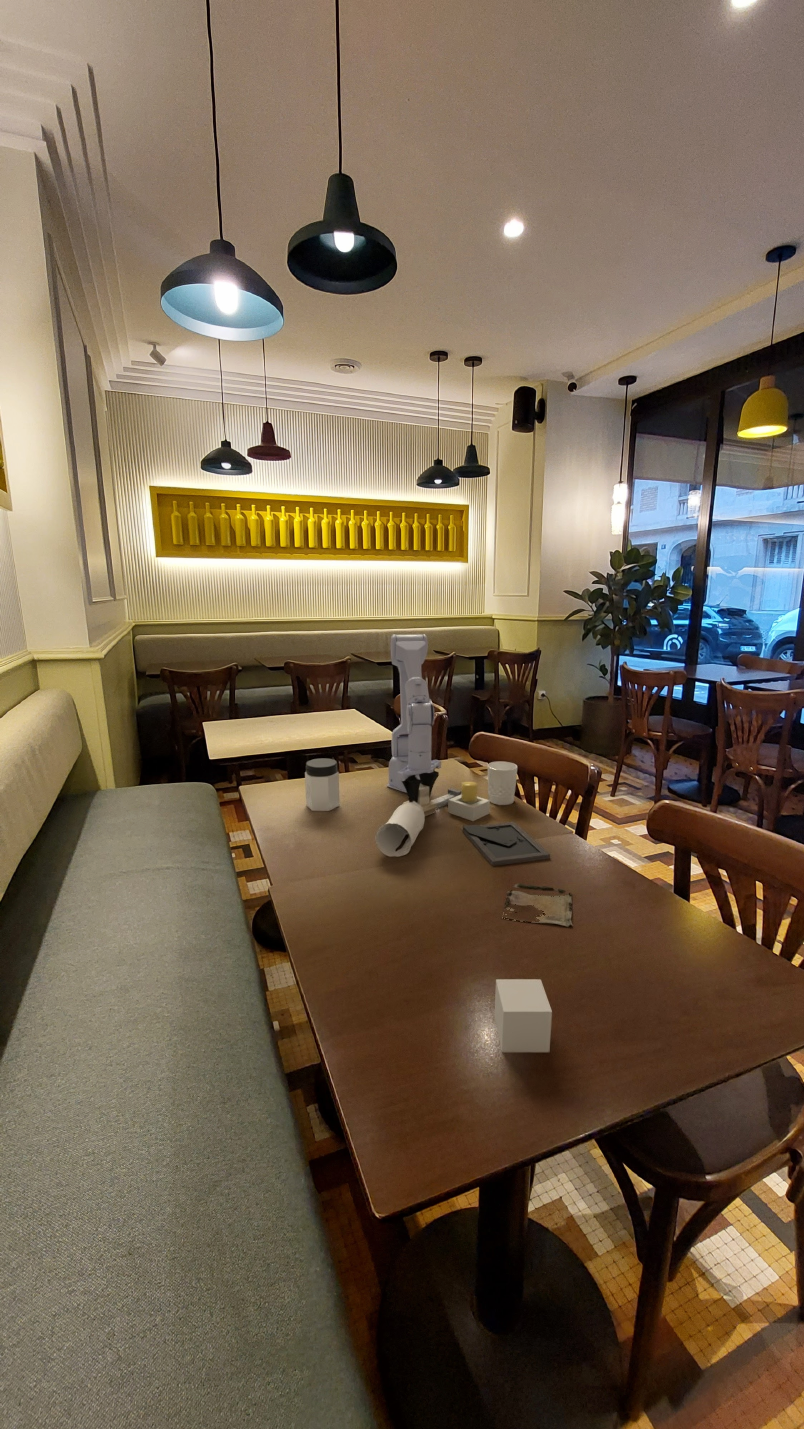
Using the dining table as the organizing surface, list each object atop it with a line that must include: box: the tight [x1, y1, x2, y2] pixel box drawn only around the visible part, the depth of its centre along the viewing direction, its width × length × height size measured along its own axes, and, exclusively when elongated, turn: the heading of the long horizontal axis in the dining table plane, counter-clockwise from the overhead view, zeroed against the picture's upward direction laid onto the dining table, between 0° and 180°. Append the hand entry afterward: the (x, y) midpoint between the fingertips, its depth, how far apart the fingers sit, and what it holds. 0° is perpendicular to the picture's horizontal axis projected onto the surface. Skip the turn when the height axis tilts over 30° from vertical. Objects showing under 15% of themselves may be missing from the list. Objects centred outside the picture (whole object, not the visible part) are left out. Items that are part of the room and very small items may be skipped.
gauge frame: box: [447, 795, 491, 822], centre depth 148 cm, size 8×7×4 cm
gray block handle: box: [430, 787, 462, 810], centre depth 151 cm, size 4×20×2 cm, turn 136°
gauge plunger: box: [461, 781, 478, 802], centre depth 147 cm, size 4×4×4 cm
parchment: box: [501, 883, 574, 928], centre depth 106 cm, size 12×13×1 cm
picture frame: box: [461, 821, 551, 867], centre depth 130 cm, size 13×2×18 cm
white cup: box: [487, 761, 518, 806], centre depth 156 cm, size 8×8×10 cm
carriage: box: [401, 784, 437, 817], centre depth 147 cm, size 6×6×7 cm
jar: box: [304, 757, 341, 812], centre depth 152 cm, size 9×8×12 cm
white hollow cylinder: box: [374, 801, 426, 858], centre depth 132 cm, size 8×19×8 cm, turn 163°
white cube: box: [494, 978, 553, 1053], centre depth 75 cm, size 6×6×6 cm
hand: (419, 800), depth 148 cm, fingers open, 4 cm apart
